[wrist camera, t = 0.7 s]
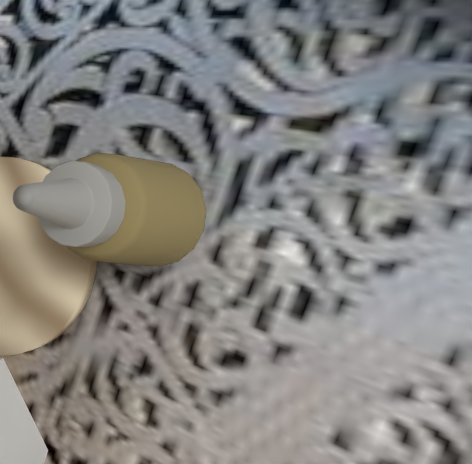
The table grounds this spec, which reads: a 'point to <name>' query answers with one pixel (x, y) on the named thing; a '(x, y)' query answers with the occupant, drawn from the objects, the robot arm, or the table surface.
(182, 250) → the squeeze bottle
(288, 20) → the table surface
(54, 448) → the table surface
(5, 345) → the round beige plate
